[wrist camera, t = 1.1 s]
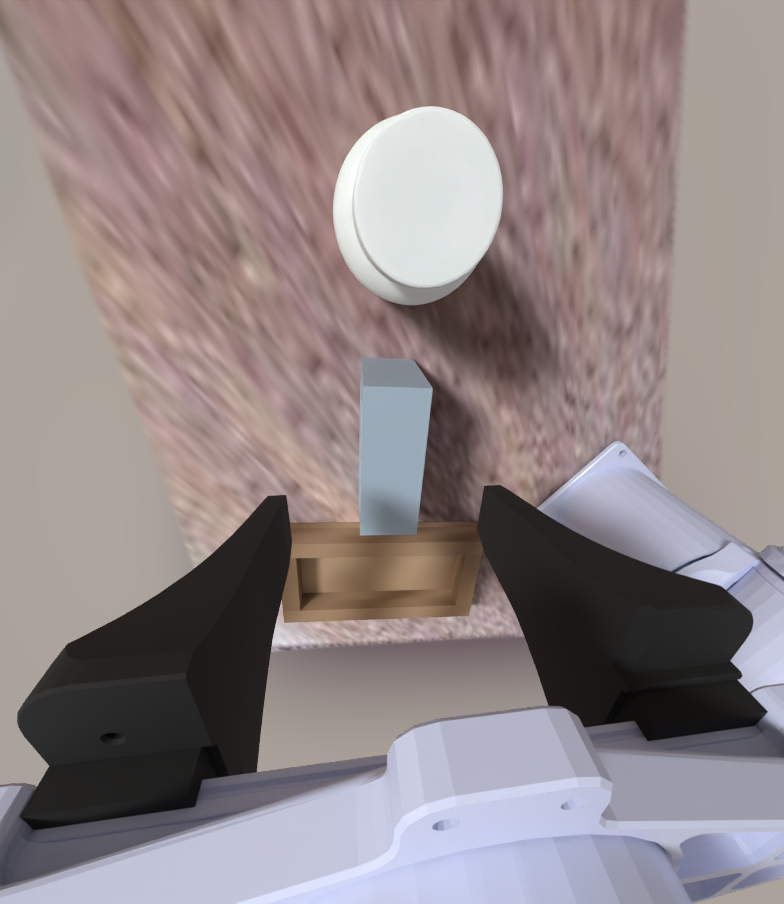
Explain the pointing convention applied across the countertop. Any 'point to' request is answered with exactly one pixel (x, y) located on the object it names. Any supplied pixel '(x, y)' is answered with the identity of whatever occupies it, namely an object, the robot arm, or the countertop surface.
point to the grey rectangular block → (392, 444)
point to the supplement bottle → (417, 204)
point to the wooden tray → (380, 572)
